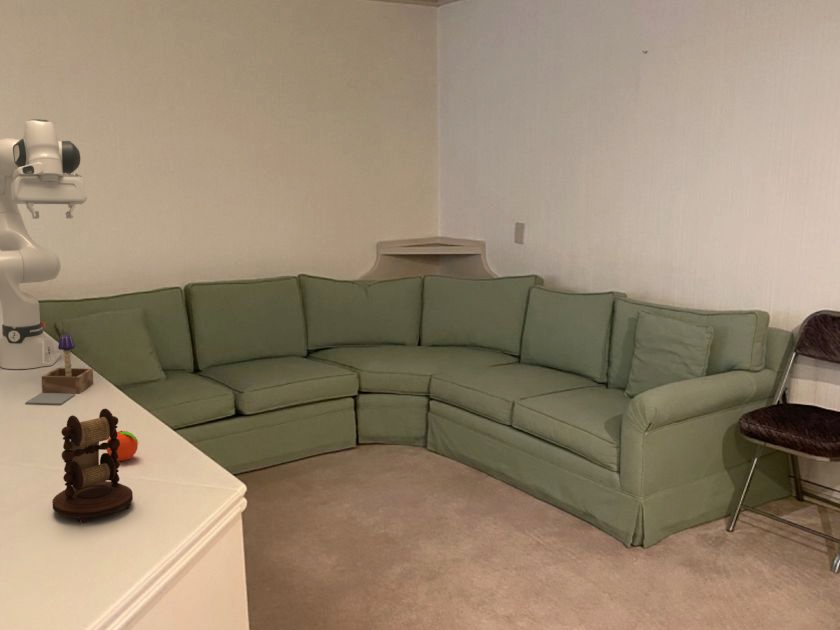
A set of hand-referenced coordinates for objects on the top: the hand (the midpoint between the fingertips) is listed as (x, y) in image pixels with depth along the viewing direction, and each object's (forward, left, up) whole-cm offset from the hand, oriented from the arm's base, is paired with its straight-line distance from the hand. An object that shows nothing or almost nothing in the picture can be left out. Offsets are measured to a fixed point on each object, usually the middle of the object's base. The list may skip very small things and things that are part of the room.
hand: (53, 218), depth 230 cm
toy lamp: (-1, +2, -52) cm, 52 cm away
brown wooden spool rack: (+85, +42, -52) cm, 109 cm away
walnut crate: (-1, +2, -52) cm, 52 cm away
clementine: (+58, +39, -52) cm, 88 cm away
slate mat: (+11, +2, -52) cm, 53 cm away
